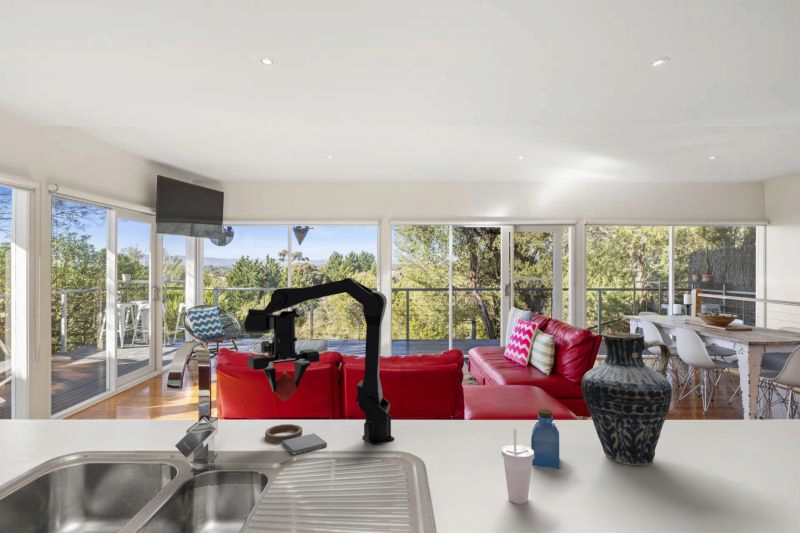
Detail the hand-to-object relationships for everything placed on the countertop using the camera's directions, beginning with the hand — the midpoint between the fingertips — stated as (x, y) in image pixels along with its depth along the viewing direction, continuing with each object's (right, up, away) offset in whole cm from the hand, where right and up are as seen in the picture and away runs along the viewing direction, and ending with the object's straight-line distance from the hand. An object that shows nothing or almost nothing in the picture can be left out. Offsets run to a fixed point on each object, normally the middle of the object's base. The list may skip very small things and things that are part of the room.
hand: (285, 390), depth 124 cm
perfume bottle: (+66, -13, -17) cm, 70 cm away
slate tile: (+7, -13, -6) cm, 16 cm away
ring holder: (0, -13, 0) cm, 13 cm away
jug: (+87, -12, -15) cm, 89 cm away
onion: (0, -3, 0) cm, 3 cm away
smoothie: (+55, -13, -34) cm, 66 cm away
